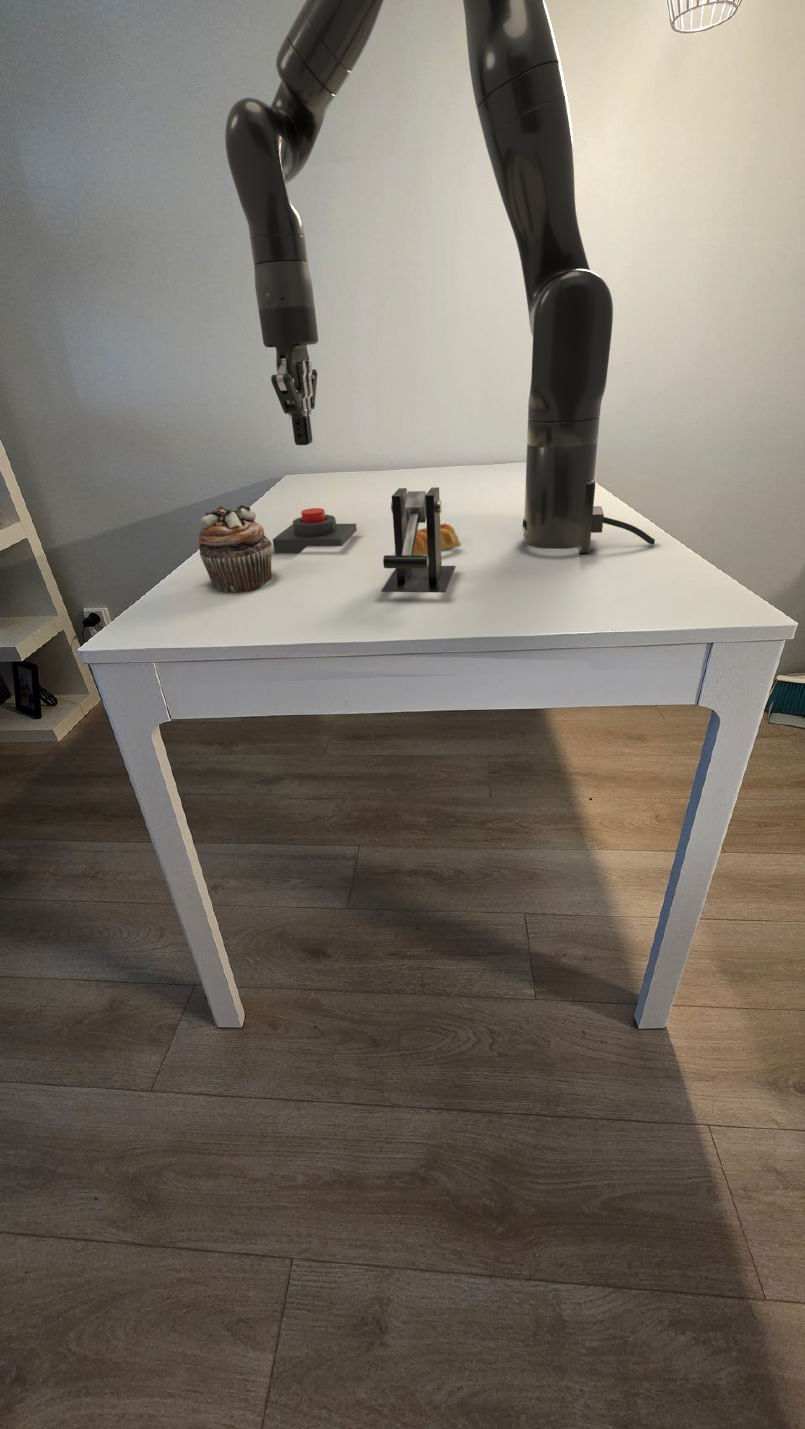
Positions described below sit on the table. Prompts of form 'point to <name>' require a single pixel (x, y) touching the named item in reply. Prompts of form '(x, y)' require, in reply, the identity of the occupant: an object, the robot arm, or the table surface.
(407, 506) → the lever
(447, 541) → the pastry
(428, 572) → the bracket
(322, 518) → the button
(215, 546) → the cupcake
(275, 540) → the control block
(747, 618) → the table surface
